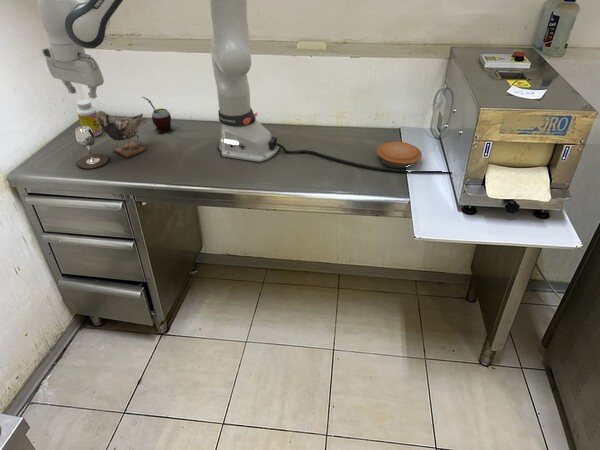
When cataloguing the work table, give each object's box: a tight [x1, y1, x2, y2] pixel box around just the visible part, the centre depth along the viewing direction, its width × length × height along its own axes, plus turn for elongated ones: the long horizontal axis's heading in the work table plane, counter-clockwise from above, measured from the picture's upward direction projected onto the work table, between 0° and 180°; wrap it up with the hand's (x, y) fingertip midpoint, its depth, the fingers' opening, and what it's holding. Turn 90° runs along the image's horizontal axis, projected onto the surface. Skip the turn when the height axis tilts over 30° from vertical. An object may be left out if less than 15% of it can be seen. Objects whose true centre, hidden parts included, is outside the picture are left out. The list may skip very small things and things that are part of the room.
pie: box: [376, 141, 423, 170], centre depth 153 cm, size 15×16×5 cm
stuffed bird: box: [94, 110, 148, 158], centre depth 154 cm, size 10×20×17 cm, turn 161°
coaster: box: [77, 153, 109, 170], centre depth 153 cm, size 10×10×1 cm
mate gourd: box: [141, 96, 172, 135], centre depth 169 cm, size 8×8×15 cm
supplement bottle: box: [76, 99, 103, 137], centre depth 167 cm, size 7×7×13 cm
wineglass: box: [74, 126, 100, 164], centre depth 149 cm, size 6×6×12 cm
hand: (83, 95), depth 141 cm, fingers open, 8 cm apart
